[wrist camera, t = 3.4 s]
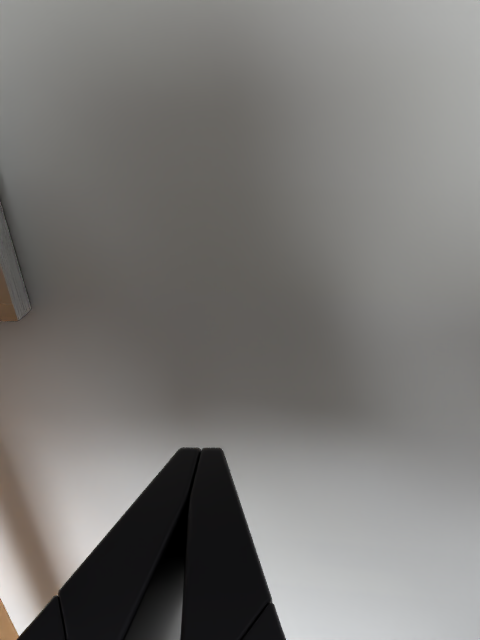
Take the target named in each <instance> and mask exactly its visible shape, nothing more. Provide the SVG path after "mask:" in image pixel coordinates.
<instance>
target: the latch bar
mask: <svg viewBox="0 0 480 640" xmlns="http://www.w3.org/2000/svg"><path fill="white" fill-rule="evenodd" d="M18 637H19V635H18V633H17V631H16V629H15V627H14V625H13V623H12V621H11V619H10V617H9V615H8V613H7V611H6V609H5V607H4V605H3V603H2V601H1V599H0V640H17V638H18Z"/></svg>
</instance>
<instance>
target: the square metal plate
mask: <svg viewBox="0 0 480 640" xmlns="http://www.w3.org/2000/svg"><path fill="white" fill-rule="evenodd" d="M30 310H31V305H30V302H29V298H28V295H27V291H26V288H25V284H24V281H23V278H22V274H21V271H20V267H19V264H18V260H17V257H16V254H15V250H14V247H13V243H12V240H11V236H10V233H9V230H8V226H7V223H6V219H5V216H4V212H3V209H2V205H1V202H0V321H19V320H20V319H21V318H22V317H23V316H24V315H25V314H27V313H28V312H29V311H30Z"/></svg>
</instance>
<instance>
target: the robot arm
mask: <svg viewBox="0 0 480 640" xmlns="http://www.w3.org/2000/svg"><path fill="white" fill-rule="evenodd" d="M58 596H59V597H58ZM58 596H54V597H53V598H52V599H51V601H50V602H49V603H48V604H47V605H46V606H45V608H44V609H43V610H42V611H41V612H40V613H39V615H38V616H37V617H36V618H35V619H34V620H33V622H32V623H31V624H30V625H29V626H28V627H27V628H26V629H25V631H24V632H23V633H22V634H21V635H20V636H19V637H18V638H17V640H286V638H285V635H284V633H283V630H282V627H281V624H280V621H279V618H278V615H277V612H276V609H275V606H274V604H273V603H272V597H271V594H270V591H269V588H268V585H267V582H266V579H265V576H264V573H263V570H262V567H261V564H260V561H259V558H258V555H257V552H256V549H255V546H254V543H253V540H252V537H251V534H250V531H249V528H248V525H247V522H246V518H245V515H244V512H243V509H242V506H241V503H240V500H239V497H238V494H237V491H236V488H235V485H234V482H233V479H232V476H231V473H230V470H229V467H228V464H227V461H226V458H225V455H224V452H223V450H222V449H221V448H203V449H202V450H201V449H200V448H189V447H183V448H180V449H179V450H178V451H177V452H176V453H175V455H174V456H173V457H172V458H171V459H170V461H169V462H168V463H167V464H166V465H165V466H164V468H163V469H162V470H161V471H160V472H159V473H158V475H157V476H156V477H155V478H154V479H153V481H152V482H151V483H150V484H149V485H148V486H147V488H146V489H145V490H144V491H143V492H142V494H141V495H140V496H139V497H138V498H137V499H136V501H135V502H134V503H133V504H132V505H131V506H130V508H129V509H128V510H127V511H126V512H125V514H124V515H123V516H122V517H121V518H120V519H119V521H118V522H117V523H116V524H115V525H114V527H113V528H112V529H111V530H110V531H109V532H108V534H107V535H106V536H105V537H104V538H103V540H102V541H101V542H100V543H99V544H98V545H97V547H96V548H95V549H94V550H93V551H92V552H91V554H90V555H89V556H88V557H87V558H86V560H85V561H84V562H83V563H82V564H81V565H80V567H79V568H78V569H77V570H76V571H75V573H74V574H73V575H72V576H71V577H70V578H69V580H68V581H67V582H66V583H65V584H64V585H63V587H62V588H61V589H60V590H59V592H58Z"/></svg>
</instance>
